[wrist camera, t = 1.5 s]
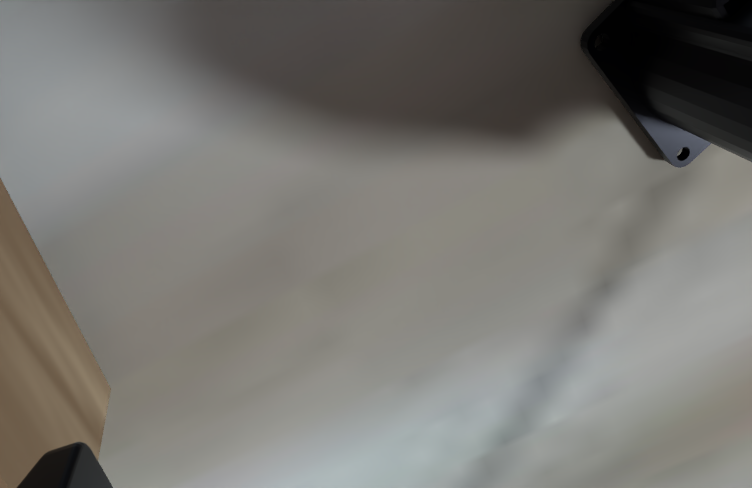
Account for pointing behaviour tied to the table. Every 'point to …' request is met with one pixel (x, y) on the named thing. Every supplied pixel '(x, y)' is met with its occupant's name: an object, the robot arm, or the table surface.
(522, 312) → the table surface
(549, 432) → the table surface
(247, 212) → the table surface
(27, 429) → the carton
